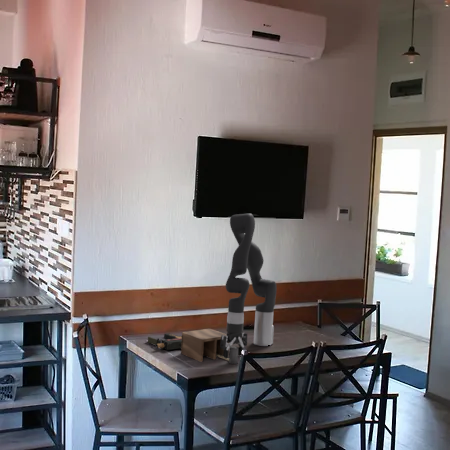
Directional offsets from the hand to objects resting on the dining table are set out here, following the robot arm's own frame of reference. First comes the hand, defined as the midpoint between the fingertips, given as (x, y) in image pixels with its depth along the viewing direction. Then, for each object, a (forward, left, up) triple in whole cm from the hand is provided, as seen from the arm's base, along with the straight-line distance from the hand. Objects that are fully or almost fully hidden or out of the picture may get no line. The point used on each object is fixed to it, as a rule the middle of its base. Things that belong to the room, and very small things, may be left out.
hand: (233, 356), depth 283 cm
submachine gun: (+4, -40, -4) cm, 40 cm away
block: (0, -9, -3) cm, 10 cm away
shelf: (+4, -16, -3) cm, 17 cm away
